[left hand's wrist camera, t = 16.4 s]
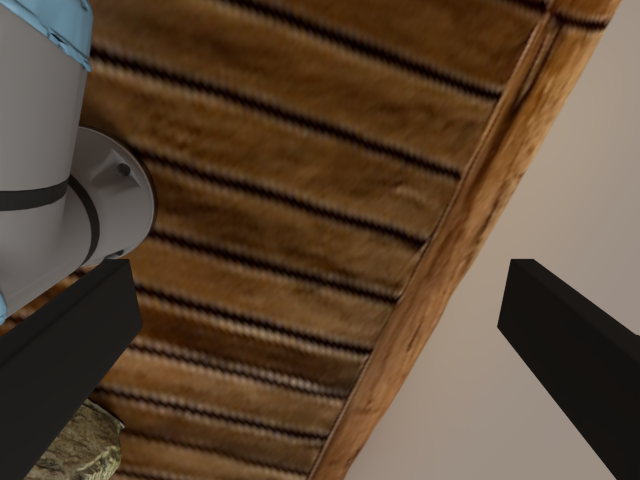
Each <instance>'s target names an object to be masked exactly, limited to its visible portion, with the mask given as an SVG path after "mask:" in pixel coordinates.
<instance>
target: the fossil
mask: <svg viewBox="0 0 640 480" xmlns="http://www.w3.org/2000/svg"><path fill="white" fill-rule="evenodd" d="M123 428H124V425H123V424H122V423H121V422H120V421H119V420H118V419H116V418H115V417H113V416H112V415H111V414H109V413H108V412H107V411H105V410H104V409H102V408H101V407H100V406H98V405H97V404H94V403H92V402H91V401H90V400H89V399H86V400H85V402H84V403H83V404H82V405H81V407H80V408H79V409H78V411H77V412H76V413H75V414H74V416H73V417H72V418H71V419H70V421H69V422H68V423H67V425H66V426H65V427H64V428H63V430H62V431H61V432H60V433H59V435H58V436H57V437H56V439H55V440H54V441H53V442H52V444H51V445H50V446H49V448H48V449H47V450H46V451H45V453H44V454H43V455H42V456H41V458H40V459H39V460H38V462H37V463H36V464H35V465H34V467H33V468H32V469H31V470H30V472H29V473H28V474H27V476H26V477H25V478H24V479H23V480H108V479H109V478H110V477H111V475H112V474H113V473H114V472H115V471H116V469H117V468H118V466H119V465H120V461H121V455H122V454H121V443H120V440H119V437H118V436H119V434H120V431H121V430H122V429H123Z"/></svg>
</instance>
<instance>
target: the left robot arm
mask: <svg viewBox="0 0 640 480" xmlns="http://www.w3.org/2000/svg"><path fill="white" fill-rule="evenodd" d="M92 28H93V12H92V8H91V5H90V2H89V0H0V325H2V324H3V322H5V319H6V318H8V317H9V316H11V315H12V314H13V313H15V312H16V311H18V310H19V309H20V308H22V307H23V306H25V305H26V304H28V303H29V302H30V301H32V300H33V299H35V298H36V297H38V296H39V295H41V294H42V293H43V292H45V291H46V290H48V289H49V288H51V287H52V286H53V285H55V284H56V283H58V282H59V281H61V280H62V279H63V278H65V277H66V276H68V275H69V274H71V273H72V272H73V271H75V270H76V269H78V268H79V267H82V266H87V265H92V264H96V265H98V263H101V264H99V265H98V266H96V267H95V268H94V269H92V270H91V271H90V272H88V273H87V274H86V275H84V276H83V277H82V278H80V279H79V280H78V281H76V282H75V283H74V284H72V285H71V286H69V287H68V288H67V289H65V290H64V291H63V292H61V293H60V294H59V295H57V296H56V297H55V298H53V299H52V300H51V301H49V302H48V303H46V304H45V305H44V306H42V307H41V308H40V309H38V310H37V311H36V312H34V313H33V314H32V315H30V316H29V317H28V318H26V319H25V320H23V321H22V322H21V323H19V324H18V325H17V326H15V327H14V328H13V329H11V330H10V331H9V332H7V333H6V334H5V335H3V336H2V337H0V480H23V479H24V478H25V477H26V476H27V474H28V473H29V472H30V470H31V469H32V468H33V467H34V465H35V464H36V463H37V462H38V460H39V459H40V458H41V456H42V455H43V454H44V453H45V451H46V450H47V449H48V448H49V446H50V445H51V444H52V442H53V441H54V440H55V439H56V437H57V436H58V435H59V433H60V432H61V431H62V430H63V428H64V427H65V426H66V425H67V423H68V422H69V421H70V419H71V418H72V417H73V416H74V414H75V413H76V412H77V411H78V409H79V408H80V407H81V405H82V404H83V403H84V402H85V400H86V399H87V398H88V396H89V395H90V394H91V393H92V391H93V390H94V389H95V388H96V386H97V385H98V384H99V382H100V381H101V380H102V379H103V377H104V376H105V375H106V374H107V372H108V371H109V370H110V368H111V367H112V366H113V365H114V363H115V362H116V361H117V359H118V358H119V357H120V356H121V354H122V353H123V352H124V351H125V349H126V348H127V347H128V345H129V344H130V343H131V342H132V340H133V339H134V338H135V337H136V335H137V334H138V333H139V331H140V330H141V329H142V328H143V325H142V320H141V315H140V310H139V305H138V301H137V296H136V291H135V286H134V281H133V276H132V271H131V266H130V261H129V259H117V258H120V257H122V256H124V255H126V254H128V253H130V252H131V251H133V250H134V249H135V248H136V247H138V246H139V245H140V244H141V243H142V242H143V241H144V240H145V239H146V238H147V237H148V235H149V234H150V232H151V231H152V229H153V227H154V224H155V221H156V217H157V211H158V199H157V193H156V189H155V185H154V182H153V180H152V177H151V175H150V173H149V171H148V170H147V168H146V166H145V165H144V163H143V162H142V160H141V159H140V158H139V157H138V155H137V154H136V153H135V152H134V151H133V150H132V149H131V148H129V147H128V146H127V145H126V144H125V143H123V142H122V141H121V140H119V139H118V138H116V137H114V136H113V135H111V134H109V133H107V132H104V131H102V130H99V129H96V128H93V127H89V126H83V125H79V120H80V114H81V109H82V103H83V97H84V92H85V86H86V81H87V75H88V72H91V69H92V67H91V63H90V62H89V55H90V46H91V37H92ZM92 266H94V265H92ZM88 267H89V266H88ZM497 327H498V329H499V330H500V331H501V333H502V334H503V335H504V337H505V338H506V339H507V340H508V342H509V343H510V344H511V345H512V347H513V348H514V349H515V351H516V352H517V353H518V354H519V356H520V357H521V358H522V359H523V361H524V362H525V363H526V365H527V366H528V367H529V368H530V370H531V371H532V372H533V374H534V375H535V376H536V377H537V379H538V380H539V381H540V382H541V384H542V385H543V386H544V388H545V389H546V390H547V391H548V393H549V394H550V395H551V396H552V398H553V399H554V400H555V402H556V403H557V404H558V405H559V407H560V408H561V409H562V411H563V412H564V413H565V414H566V416H567V417H568V418H569V419H570V421H571V422H572V423H573V425H574V426H575V427H576V428H577V430H578V431H579V432H580V433H581V435H582V436H583V437H584V439H585V440H586V441H587V442H588V444H589V445H590V446H591V447H592V449H593V450H594V451H595V453H596V454H597V455H598V456H599V458H600V459H601V460H602V462H603V463H604V464H605V465H606V467H607V468H608V469H609V470H610V472H611V473H612V474H613V476H614V477H615V478H616V479H617V480H640V336H639V335H635V334H634V333H633V332H631V331H630V330H629V329H627V328H626V327H625V326H623V325H622V324H621V323H619V322H618V321H616V320H615V319H614V318H612V317H611V316H610V315H608V314H607V313H606V312H604V311H603V310H602V309H600V308H599V307H598V306H596V305H595V304H593V303H592V302H591V301H589V300H588V299H587V298H585V297H584V296H583V295H581V294H580V293H579V292H577V291H576V290H575V289H573V288H572V287H571V286H569V285H568V284H566V283H565V282H564V281H562V280H561V279H560V278H558V277H557V276H556V275H554V274H553V273H552V272H550V271H549V270H548V269H546V268H545V267H544V266H542V265H541V264H539V263H538V262H537V261H535V260H534V259H511V261H510V266H509V271H508V276H507V281H506V286H505V291H504V296H503V301H502V305H501V310H500V315H499V320H498V325H497Z"/></svg>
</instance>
